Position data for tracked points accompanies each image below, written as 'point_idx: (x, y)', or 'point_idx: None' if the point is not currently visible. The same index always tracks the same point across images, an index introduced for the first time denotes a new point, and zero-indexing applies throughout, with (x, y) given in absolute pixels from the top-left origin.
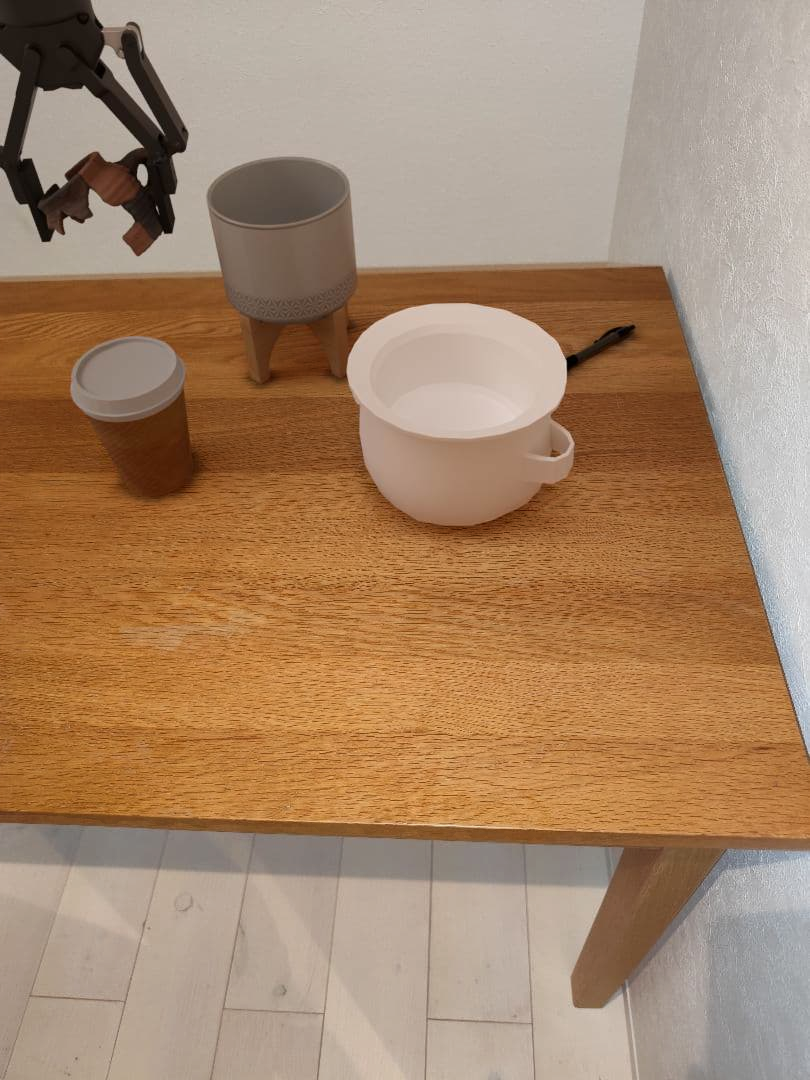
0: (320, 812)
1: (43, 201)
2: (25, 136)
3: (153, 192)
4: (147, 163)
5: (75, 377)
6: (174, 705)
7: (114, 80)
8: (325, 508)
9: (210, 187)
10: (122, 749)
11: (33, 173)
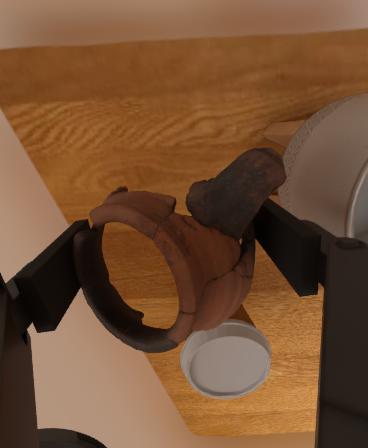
0: (303, 430)
1: (104, 323)
2: (7, 318)
3: (276, 265)
4: (301, 291)
5: (191, 381)
6: (246, 406)
7: None
8: (314, 314)
9: (356, 199)
10: (229, 420)
11: (51, 281)
